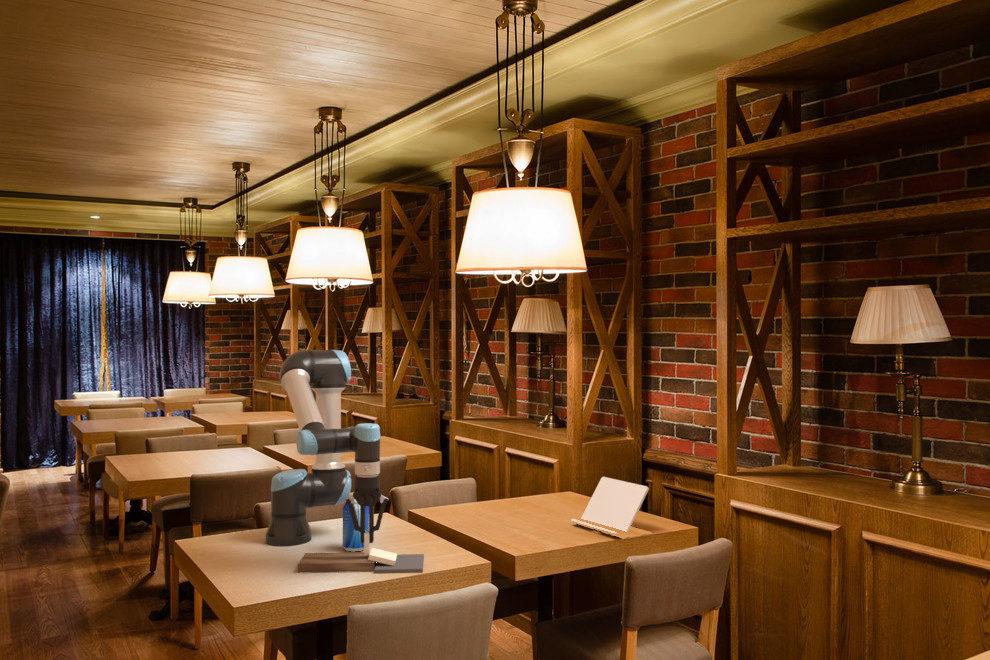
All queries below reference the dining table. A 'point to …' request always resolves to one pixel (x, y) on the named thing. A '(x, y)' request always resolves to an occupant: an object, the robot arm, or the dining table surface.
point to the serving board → (335, 562)
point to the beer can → (349, 534)
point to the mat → (402, 564)
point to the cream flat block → (382, 556)
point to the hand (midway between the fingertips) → (367, 553)
